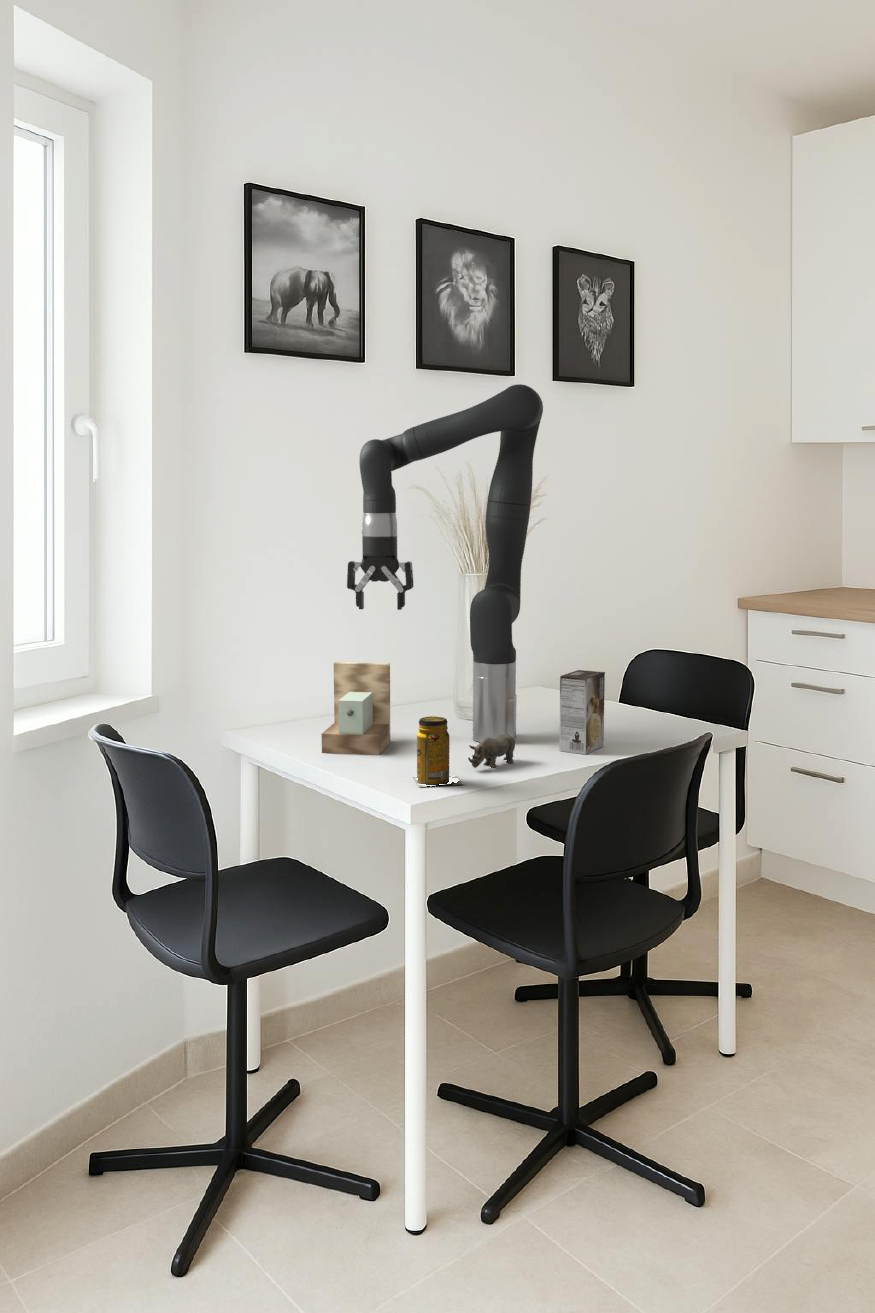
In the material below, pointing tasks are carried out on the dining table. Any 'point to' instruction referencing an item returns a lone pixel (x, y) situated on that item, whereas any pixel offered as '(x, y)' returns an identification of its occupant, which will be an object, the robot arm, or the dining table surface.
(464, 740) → the dining table surface
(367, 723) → the mint green tall box
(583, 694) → the coffee box
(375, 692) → the wall board
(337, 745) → the ledge
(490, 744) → the rhino figurine
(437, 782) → the condiment
